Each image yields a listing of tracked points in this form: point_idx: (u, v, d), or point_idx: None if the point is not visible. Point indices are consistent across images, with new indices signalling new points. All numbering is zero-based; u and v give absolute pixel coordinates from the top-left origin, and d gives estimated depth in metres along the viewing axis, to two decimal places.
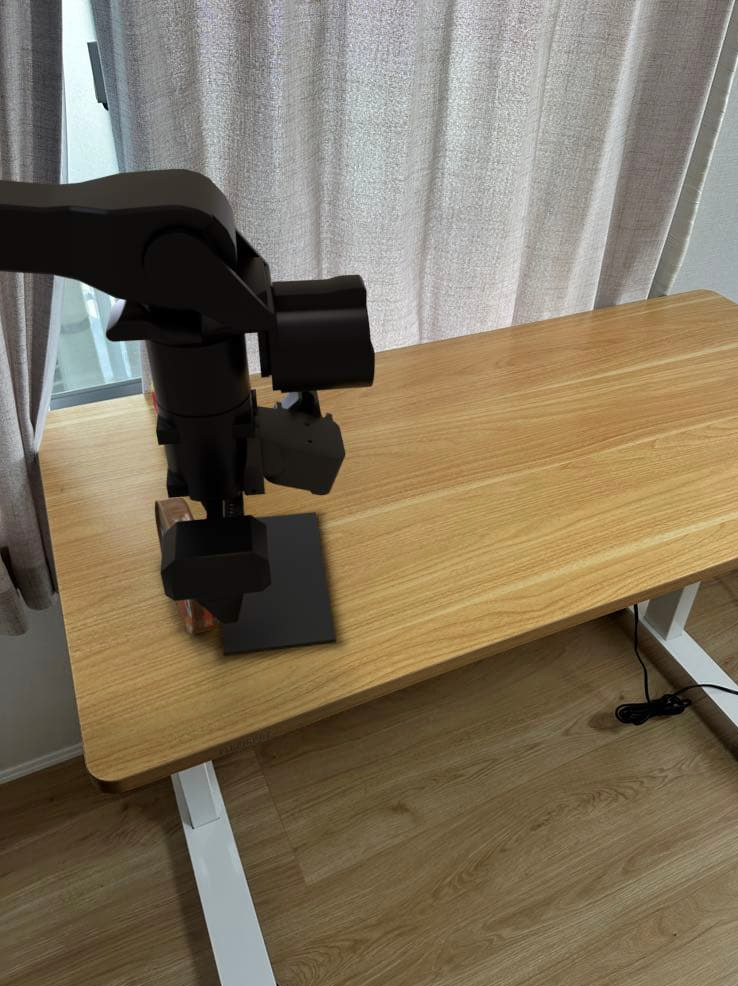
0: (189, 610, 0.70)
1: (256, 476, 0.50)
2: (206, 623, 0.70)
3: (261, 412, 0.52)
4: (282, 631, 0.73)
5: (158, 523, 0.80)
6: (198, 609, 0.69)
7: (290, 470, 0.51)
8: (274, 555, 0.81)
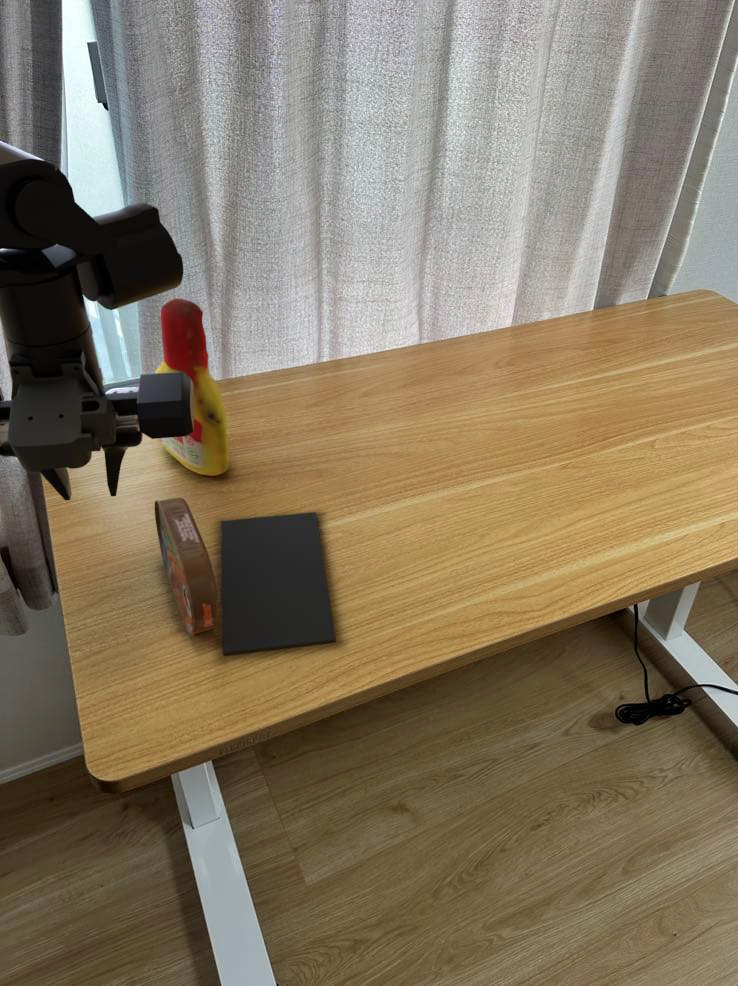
0: (189, 610, 0.70)
1: None
2: (206, 623, 0.70)
3: (66, 381, 0.58)
4: (282, 631, 0.73)
5: (158, 523, 0.80)
6: (198, 609, 0.69)
7: None
8: (274, 555, 0.81)
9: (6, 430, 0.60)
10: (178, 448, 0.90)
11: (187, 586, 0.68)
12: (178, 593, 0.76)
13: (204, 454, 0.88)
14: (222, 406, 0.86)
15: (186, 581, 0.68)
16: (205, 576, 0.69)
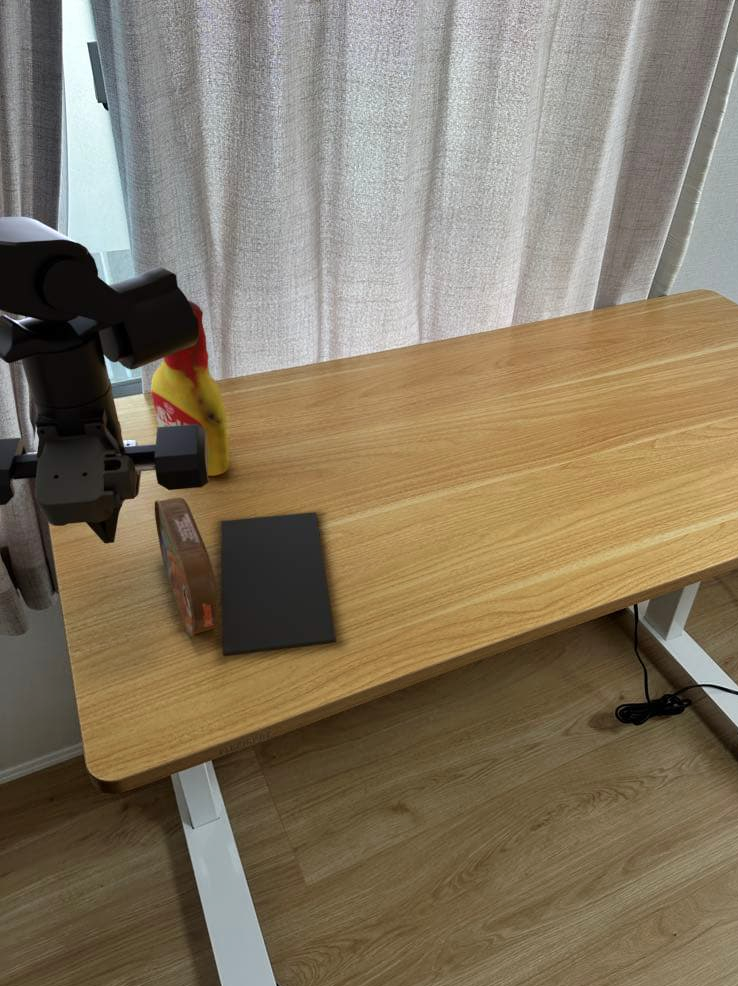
0: (189, 610, 0.70)
1: None
2: (206, 623, 0.70)
3: (89, 439, 0.61)
4: (282, 631, 0.73)
5: (158, 523, 0.80)
6: (198, 609, 0.69)
7: None
8: (274, 555, 0.81)
9: None
10: None
11: (187, 586, 0.68)
12: (178, 593, 0.76)
13: None
14: (222, 406, 0.86)
15: (186, 581, 0.68)
16: (205, 576, 0.69)
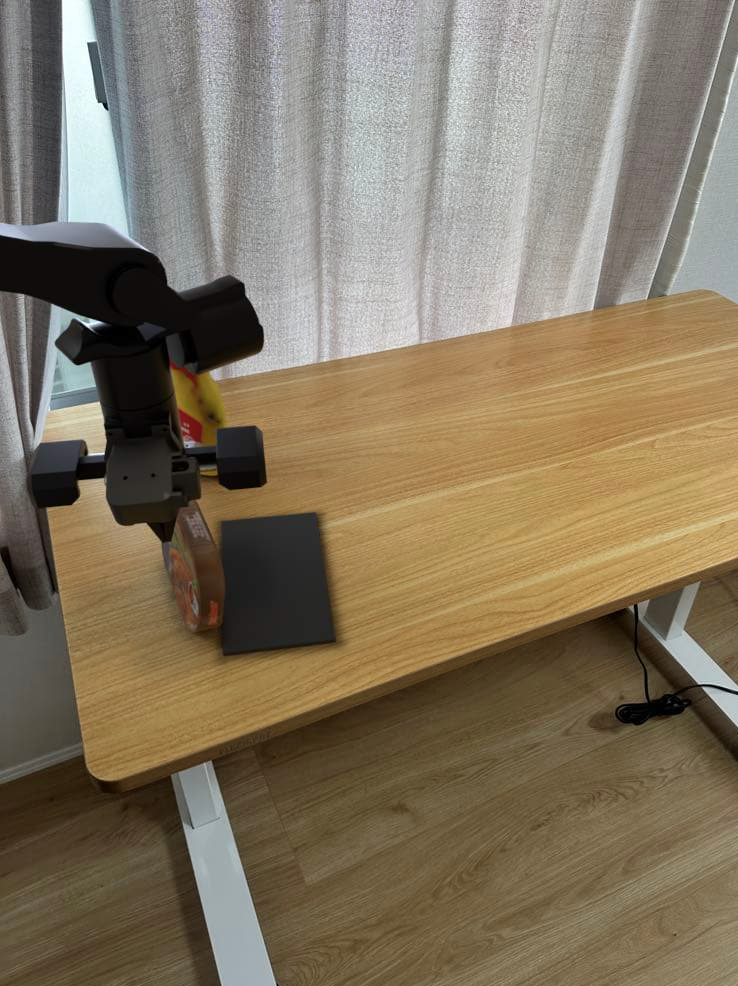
0: (194, 607, 0.70)
1: None
2: (210, 621, 0.70)
3: (155, 441, 0.62)
4: (282, 631, 0.73)
5: None
6: (205, 606, 0.69)
7: None
8: (274, 555, 0.81)
9: None
10: None
11: (197, 582, 0.68)
12: (179, 591, 0.76)
13: None
14: (222, 406, 0.86)
15: (197, 577, 0.68)
16: (215, 574, 0.69)
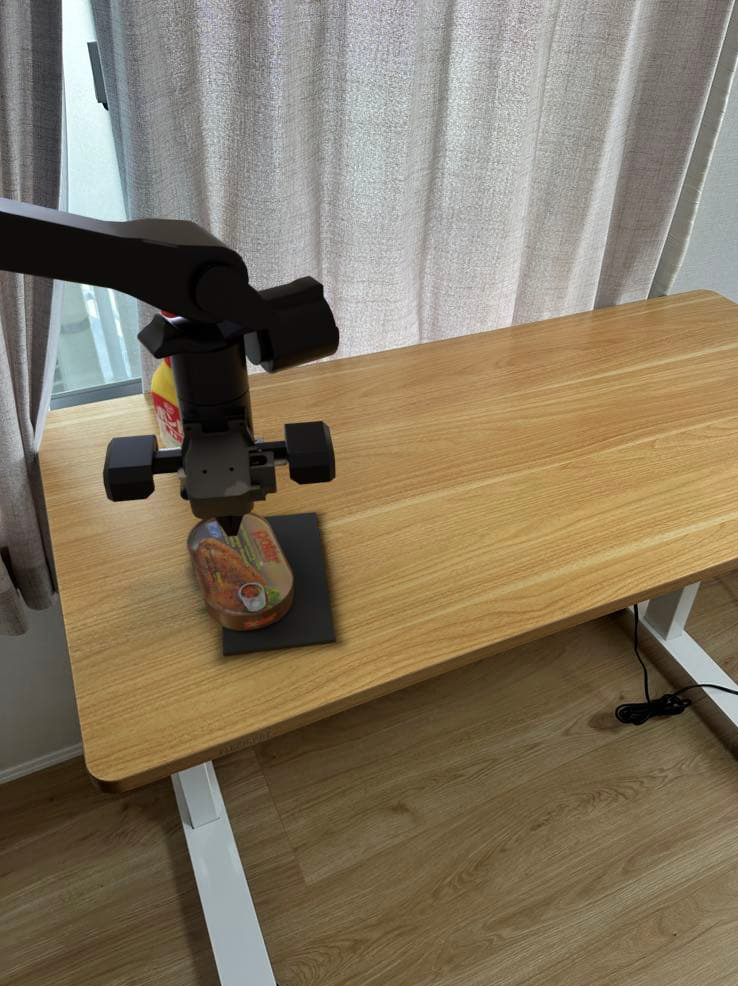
0: (250, 601, 0.73)
1: None
2: (251, 622, 0.72)
3: (231, 436, 0.63)
4: (282, 631, 0.73)
5: None
6: (271, 612, 0.72)
7: None
8: None
9: None
10: None
11: (288, 594, 0.73)
12: (201, 571, 0.76)
13: None
14: None
15: (290, 591, 0.74)
16: (290, 602, 0.75)
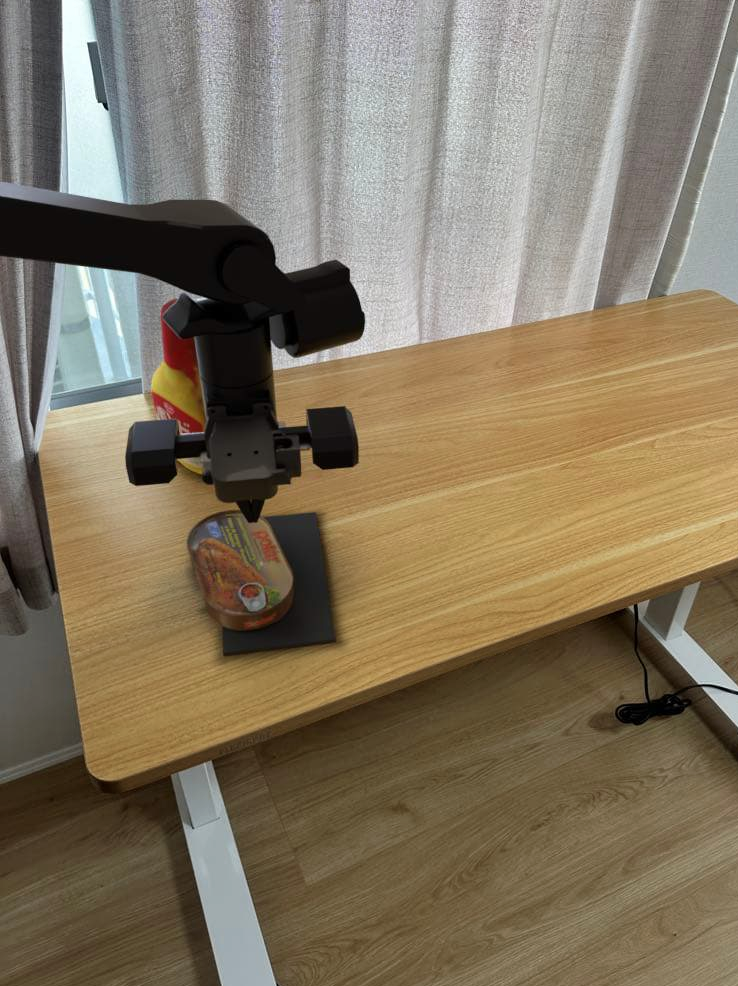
0: (250, 601, 0.73)
1: None
2: (251, 622, 0.72)
3: (256, 419, 0.63)
4: (282, 631, 0.73)
5: (214, 516, 0.82)
6: (271, 612, 0.72)
7: None
8: None
9: None
10: None
11: (288, 594, 0.73)
12: (201, 571, 0.76)
13: None
14: None
15: (290, 591, 0.74)
16: (290, 602, 0.75)
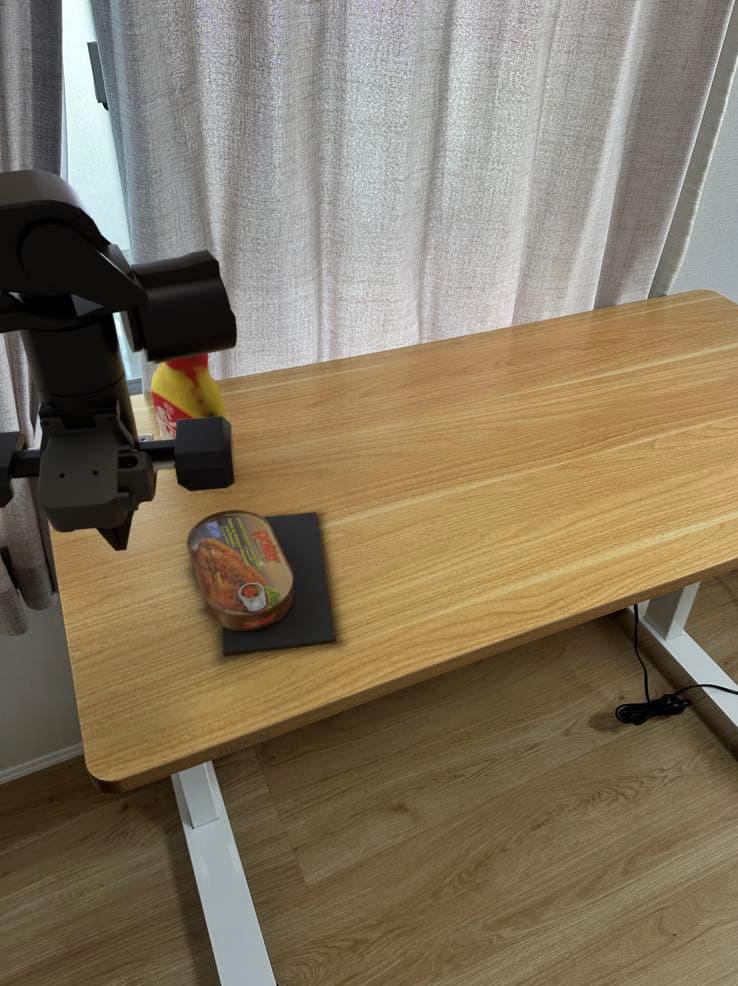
0: (250, 601, 0.73)
1: None
2: (251, 622, 0.72)
3: (100, 433, 0.53)
4: (282, 631, 0.73)
5: (214, 516, 0.82)
6: (271, 612, 0.72)
7: None
8: None
9: None
10: None
11: (288, 594, 0.73)
12: (201, 571, 0.76)
13: None
14: (222, 406, 0.86)
15: (290, 591, 0.74)
16: (290, 602, 0.75)
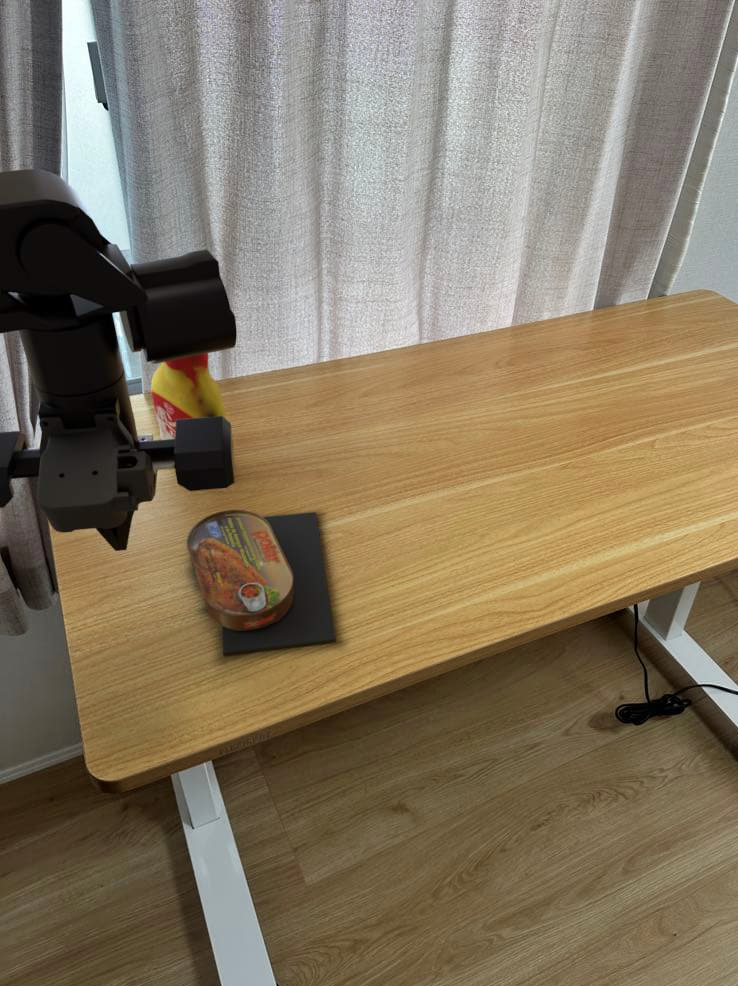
0: (250, 601, 0.73)
1: None
2: (251, 622, 0.72)
3: (100, 433, 0.53)
4: (282, 631, 0.73)
5: (214, 516, 0.82)
6: (271, 612, 0.72)
7: None
8: None
9: None
10: None
11: (288, 594, 0.73)
12: (201, 571, 0.76)
13: None
14: (222, 406, 0.86)
15: (290, 591, 0.74)
16: (290, 602, 0.75)
